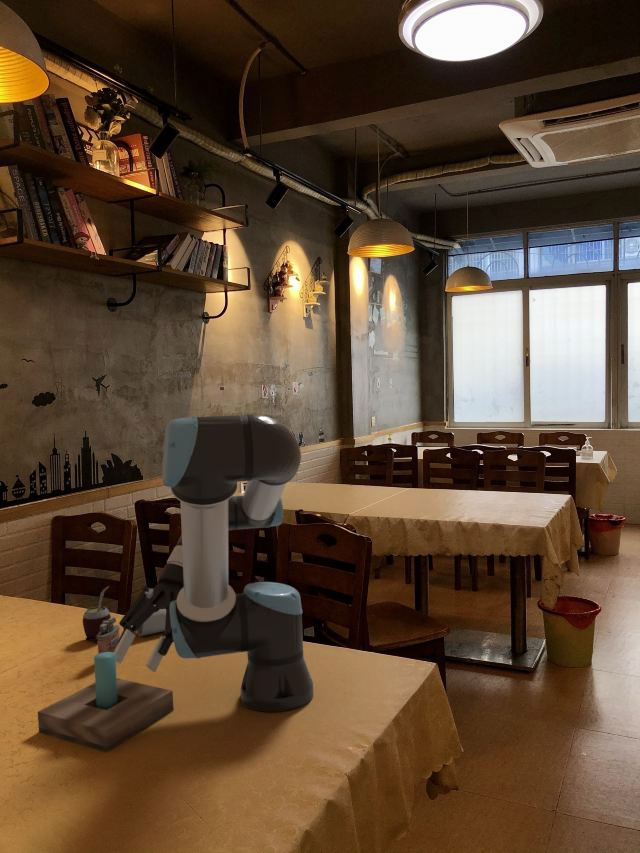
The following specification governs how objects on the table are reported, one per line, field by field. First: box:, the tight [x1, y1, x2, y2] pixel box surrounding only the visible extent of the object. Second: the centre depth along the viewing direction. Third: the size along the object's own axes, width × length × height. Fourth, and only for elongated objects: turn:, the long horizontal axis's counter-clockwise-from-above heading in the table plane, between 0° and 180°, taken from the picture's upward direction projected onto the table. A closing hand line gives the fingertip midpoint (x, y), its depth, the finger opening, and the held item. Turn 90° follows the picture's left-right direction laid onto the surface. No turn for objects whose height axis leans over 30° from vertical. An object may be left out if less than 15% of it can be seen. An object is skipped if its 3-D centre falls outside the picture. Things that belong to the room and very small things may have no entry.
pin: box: [93, 652, 118, 710], centre depth 137 cm, size 4×4×12 cm
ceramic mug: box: [136, 604, 166, 637], centre depth 189 cm, size 11×8×8 cm
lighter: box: [97, 616, 121, 654], centre depth 168 cm, size 8×3×10 cm, turn 168°
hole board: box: [37, 677, 175, 753], centre depth 137 cm, size 18×18×4 cm
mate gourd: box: [82, 585, 112, 644], centre depth 183 cm, size 8×8×15 cm
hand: (132, 664), depth 145 cm, fingers open, 9 cm apart
